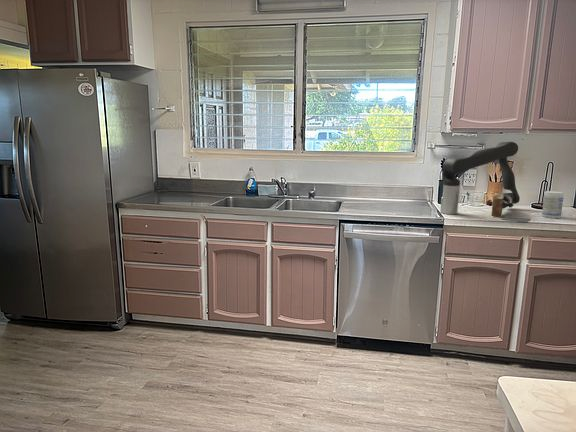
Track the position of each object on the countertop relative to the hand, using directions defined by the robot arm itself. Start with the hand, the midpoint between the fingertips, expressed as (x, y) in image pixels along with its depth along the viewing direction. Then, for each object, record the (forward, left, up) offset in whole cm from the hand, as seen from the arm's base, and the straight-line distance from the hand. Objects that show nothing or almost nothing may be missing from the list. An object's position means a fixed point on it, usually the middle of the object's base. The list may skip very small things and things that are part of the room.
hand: (496, 205), depth 242 cm
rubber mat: (+11, 0, -7) cm, 13 cm away
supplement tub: (+25, +21, -7) cm, 34 cm away
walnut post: (0, +2, -7) cm, 7 cm away
